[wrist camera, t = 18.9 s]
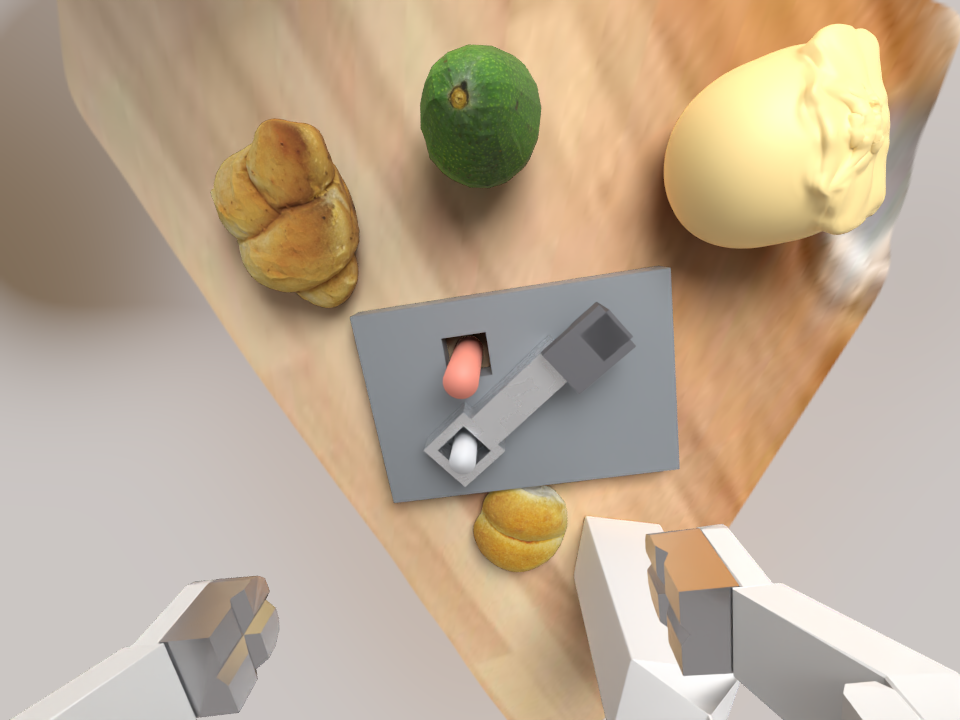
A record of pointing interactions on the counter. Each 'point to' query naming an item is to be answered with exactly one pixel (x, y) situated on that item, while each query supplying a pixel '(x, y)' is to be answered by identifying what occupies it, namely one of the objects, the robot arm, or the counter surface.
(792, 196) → the sculpture
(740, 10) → the counter surface
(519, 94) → the avocado
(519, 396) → the link
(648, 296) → the board
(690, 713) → the milk carton
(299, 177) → the bread roll
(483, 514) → the bread roll
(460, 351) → the peg
